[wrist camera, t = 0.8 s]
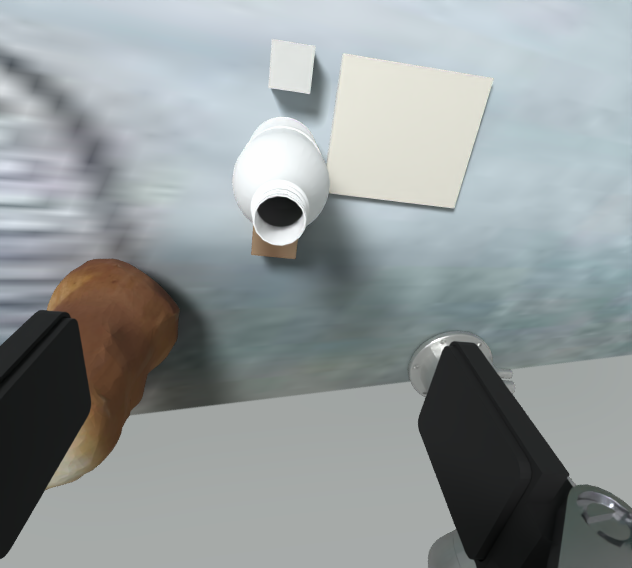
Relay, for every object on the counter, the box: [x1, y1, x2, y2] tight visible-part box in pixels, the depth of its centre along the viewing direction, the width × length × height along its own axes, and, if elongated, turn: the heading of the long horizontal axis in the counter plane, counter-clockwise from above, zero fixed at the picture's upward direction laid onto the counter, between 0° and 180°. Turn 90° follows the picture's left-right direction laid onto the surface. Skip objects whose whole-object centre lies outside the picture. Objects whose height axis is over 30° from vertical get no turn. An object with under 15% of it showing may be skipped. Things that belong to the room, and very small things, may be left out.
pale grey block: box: [268, 39, 316, 94], centre depth 38 cm, size 4×4×4 cm
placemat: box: [326, 53, 494, 208], centre depth 43 cm, size 16×14×1 cm
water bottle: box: [232, 117, 330, 246], centre depth 33 cm, size 7×7×25 cm
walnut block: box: [251, 225, 298, 259], centre depth 45 cm, size 5×5×5 cm
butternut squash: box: [45, 259, 180, 490], centre depth 39 cm, size 14×13×25 cm
